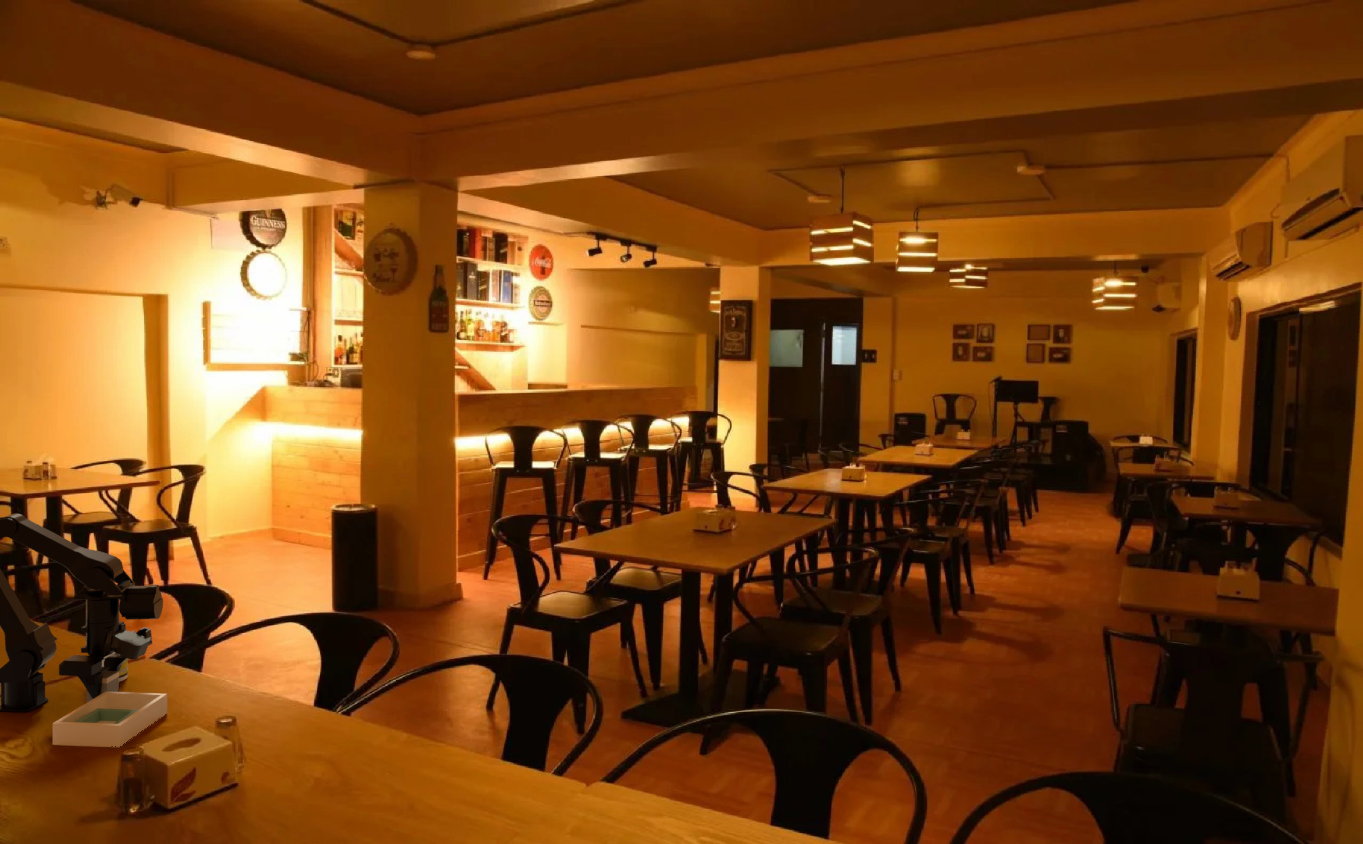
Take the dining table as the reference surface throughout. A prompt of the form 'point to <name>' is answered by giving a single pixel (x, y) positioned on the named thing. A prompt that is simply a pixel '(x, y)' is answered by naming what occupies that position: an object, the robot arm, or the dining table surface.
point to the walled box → (109, 719)
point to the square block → (108, 683)
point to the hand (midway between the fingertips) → (102, 695)
